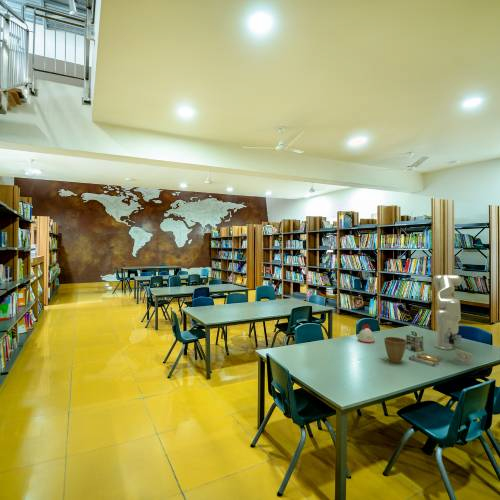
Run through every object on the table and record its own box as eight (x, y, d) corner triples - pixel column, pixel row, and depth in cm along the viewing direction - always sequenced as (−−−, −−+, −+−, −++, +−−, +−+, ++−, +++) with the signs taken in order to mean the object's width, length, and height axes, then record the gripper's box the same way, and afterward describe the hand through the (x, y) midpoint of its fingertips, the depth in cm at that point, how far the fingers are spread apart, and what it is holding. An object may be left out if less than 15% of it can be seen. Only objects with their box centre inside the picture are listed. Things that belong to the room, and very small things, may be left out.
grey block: (445, 341, 232) (445, 332, 232) (461, 345, 224) (461, 335, 224) (443, 342, 230) (444, 333, 230) (459, 346, 222) (459, 336, 222)
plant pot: (398, 366, 221) (398, 343, 221) (379, 360, 233) (379, 338, 233) (410, 362, 229) (410, 340, 229) (392, 356, 241) (392, 335, 241)
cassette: (472, 364, 224) (473, 354, 224) (471, 365, 223) (471, 354, 223) (456, 359, 235) (456, 348, 235) (455, 359, 234) (455, 349, 234)
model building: (423, 350, 254) (423, 332, 254) (415, 351, 251) (415, 333, 251) (414, 347, 263) (414, 329, 263) (405, 348, 260) (405, 330, 260)
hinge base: (445, 360, 232) (445, 356, 232) (434, 366, 221) (434, 362, 221) (421, 353, 246) (421, 350, 246) (408, 359, 235) (408, 355, 235)
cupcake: (354, 339, 285) (354, 323, 284) (367, 338, 289) (367, 322, 289) (364, 344, 271) (364, 326, 271) (378, 342, 275) (378, 325, 275)
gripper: (451, 315, 234) (451, 339, 235) (442, 318, 225) (441, 344, 225) (463, 317, 228) (462, 342, 229) (453, 320, 219) (453, 346, 219)
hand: (452, 342), depth 227 cm, fingers closed on grey block, 3 cm apart
